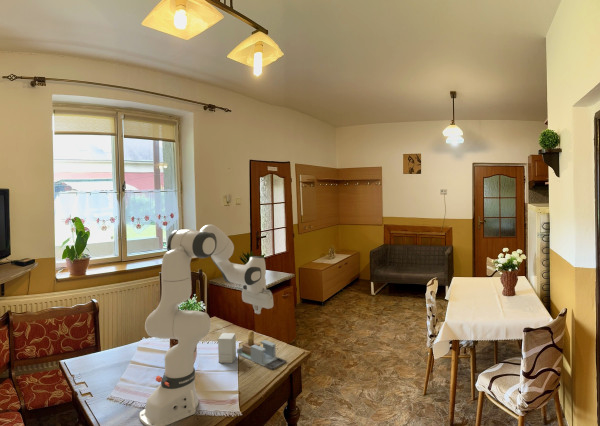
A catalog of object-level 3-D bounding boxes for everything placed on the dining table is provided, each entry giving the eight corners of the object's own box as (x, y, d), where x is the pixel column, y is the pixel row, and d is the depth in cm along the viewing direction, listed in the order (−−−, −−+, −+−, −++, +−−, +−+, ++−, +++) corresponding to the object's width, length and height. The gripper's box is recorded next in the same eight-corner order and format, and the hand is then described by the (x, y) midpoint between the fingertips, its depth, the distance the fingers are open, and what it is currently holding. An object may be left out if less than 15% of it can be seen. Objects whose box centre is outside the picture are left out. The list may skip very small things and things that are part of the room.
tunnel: (272, 370, 173) (272, 355, 172) (236, 354, 190) (236, 340, 189) (286, 362, 180) (286, 348, 180) (250, 347, 197) (250, 334, 197)
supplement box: (236, 356, 187) (236, 333, 186) (232, 363, 180) (232, 338, 179) (222, 355, 188) (222, 332, 187) (218, 362, 180) (217, 338, 179)
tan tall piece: (251, 355, 185) (251, 335, 184) (242, 352, 190) (242, 331, 189) (259, 351, 190) (259, 331, 189) (250, 348, 194) (250, 328, 193)
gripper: (276, 289, 180) (276, 316, 181) (248, 282, 193) (249, 307, 194) (267, 292, 175) (267, 319, 176) (239, 285, 188) (240, 310, 189)
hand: (257, 313), depth 185 cm, fingers closed
